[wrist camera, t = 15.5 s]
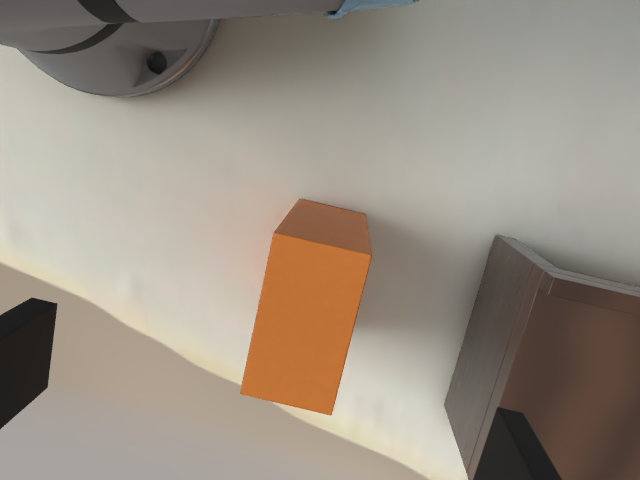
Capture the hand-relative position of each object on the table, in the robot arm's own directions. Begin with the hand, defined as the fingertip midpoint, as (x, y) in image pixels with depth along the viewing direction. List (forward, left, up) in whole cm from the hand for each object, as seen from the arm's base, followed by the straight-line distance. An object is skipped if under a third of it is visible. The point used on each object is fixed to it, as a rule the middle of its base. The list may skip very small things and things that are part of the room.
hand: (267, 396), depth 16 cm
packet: (+1, -2, -25) cm, 25 cm away
